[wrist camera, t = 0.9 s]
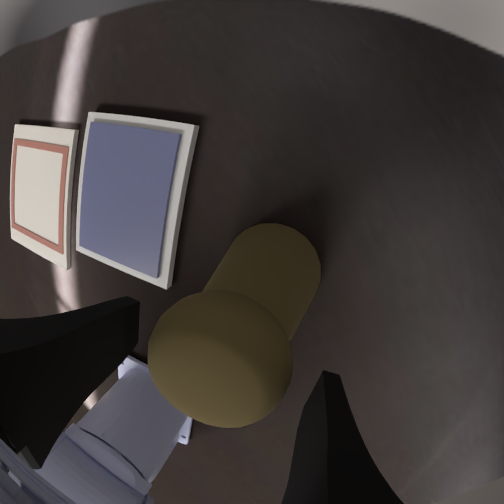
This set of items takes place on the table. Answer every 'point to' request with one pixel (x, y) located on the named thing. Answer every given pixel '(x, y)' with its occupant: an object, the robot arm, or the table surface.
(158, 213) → the ink pad
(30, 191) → the marked board
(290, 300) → the cork
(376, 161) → the table surface
